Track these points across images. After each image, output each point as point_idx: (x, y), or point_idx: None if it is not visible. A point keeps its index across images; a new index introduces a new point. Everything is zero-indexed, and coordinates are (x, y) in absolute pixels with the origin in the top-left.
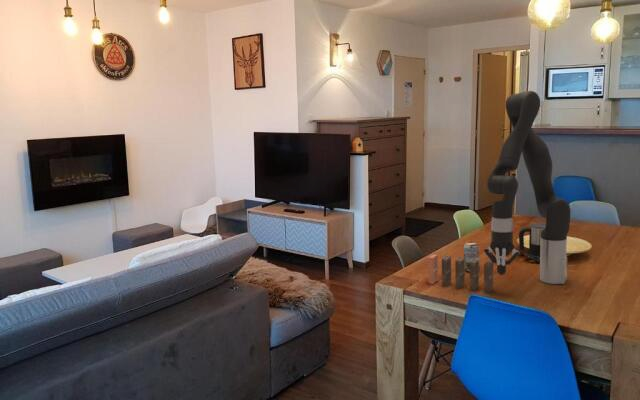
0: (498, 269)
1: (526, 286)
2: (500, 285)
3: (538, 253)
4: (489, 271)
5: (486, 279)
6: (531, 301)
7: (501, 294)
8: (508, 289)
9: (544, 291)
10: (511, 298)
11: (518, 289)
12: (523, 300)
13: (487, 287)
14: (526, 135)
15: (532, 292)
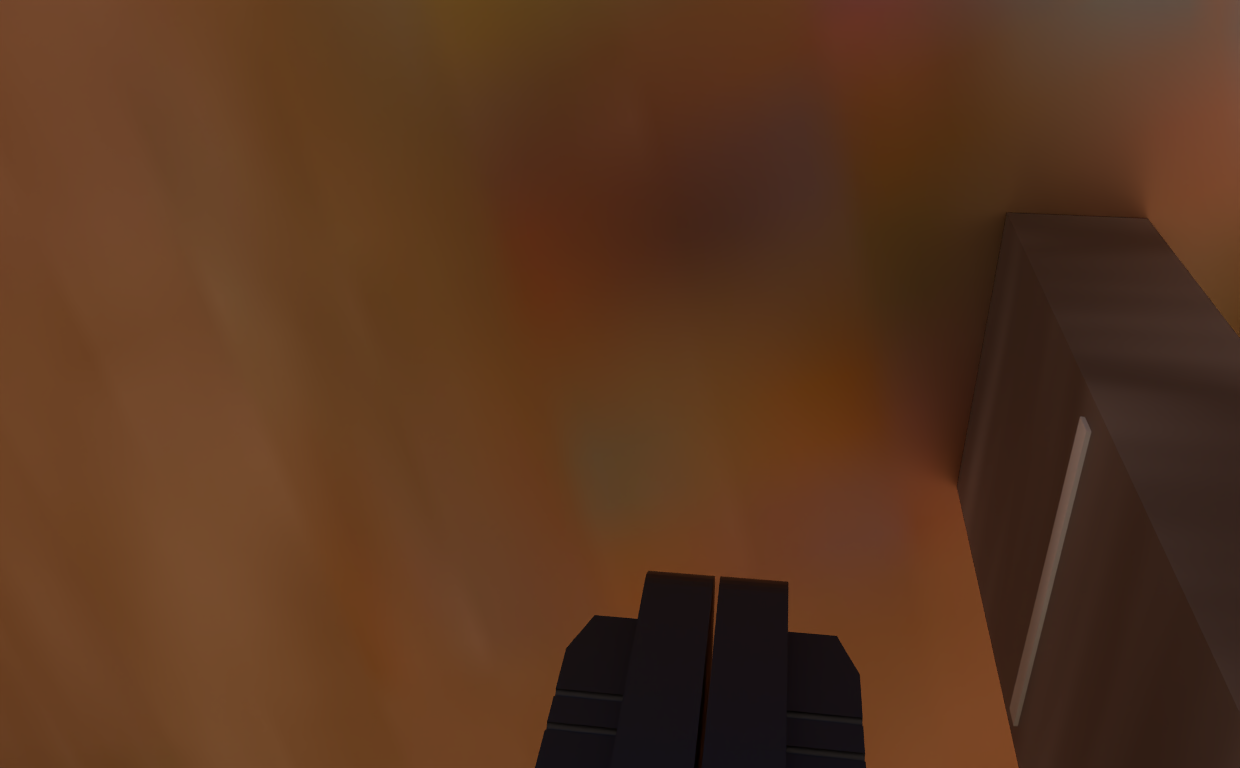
0: (813, 739)
1: (413, 734)
2: None
3: None
4: (1177, 578)
5: (1194, 386)
6: (16, 23)
7: (716, 211)
8: (650, 533)
9: (87, 607)
10: (441, 35)
11: (483, 581)
12: (173, 14)
13: (1090, 267)
14: None
15: (222, 513)
